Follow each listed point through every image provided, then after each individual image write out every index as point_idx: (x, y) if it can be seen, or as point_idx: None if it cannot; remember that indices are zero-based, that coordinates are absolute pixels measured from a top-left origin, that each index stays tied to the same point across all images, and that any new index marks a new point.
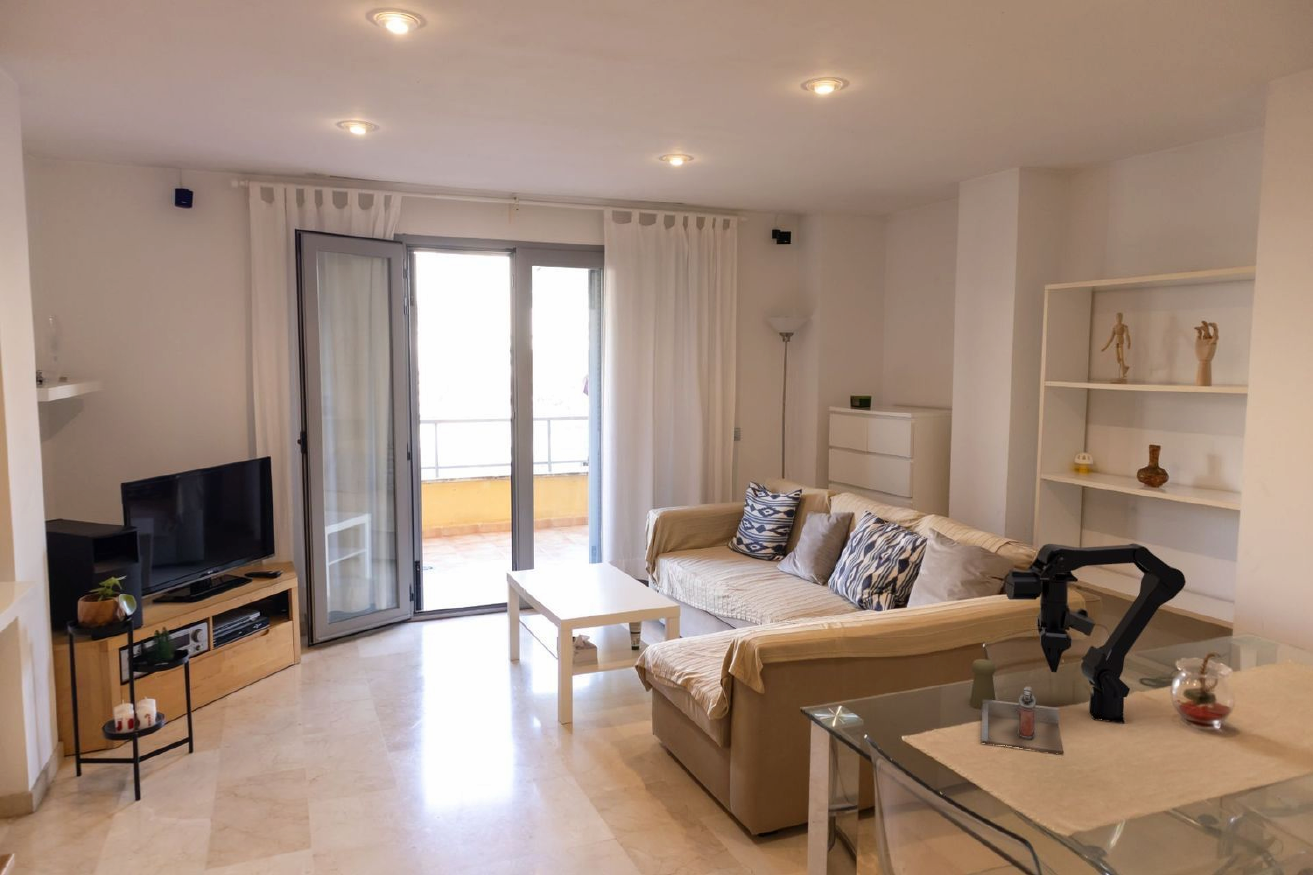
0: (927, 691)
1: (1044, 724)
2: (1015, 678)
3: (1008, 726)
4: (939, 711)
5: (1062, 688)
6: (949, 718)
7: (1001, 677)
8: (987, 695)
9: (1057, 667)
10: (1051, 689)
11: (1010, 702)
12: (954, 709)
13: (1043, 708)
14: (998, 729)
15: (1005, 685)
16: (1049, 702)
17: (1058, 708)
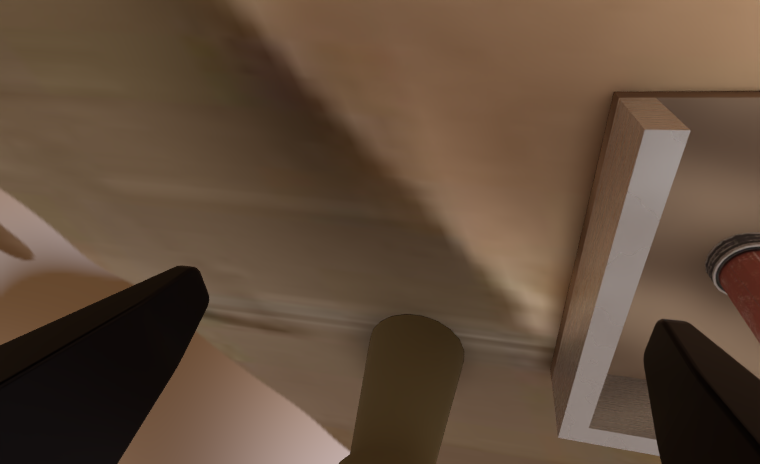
0: None
1: None
2: (76, 220)
3: (705, 324)
4: (527, 457)
5: (39, 39)
6: (589, 448)
7: (103, 262)
8: (447, 389)
9: (752, 378)
10: (89, 93)
11: (584, 357)
12: (494, 424)
13: (658, 220)
14: (751, 362)
15: (172, 260)
16: (261, 113)
17: (660, 131)
